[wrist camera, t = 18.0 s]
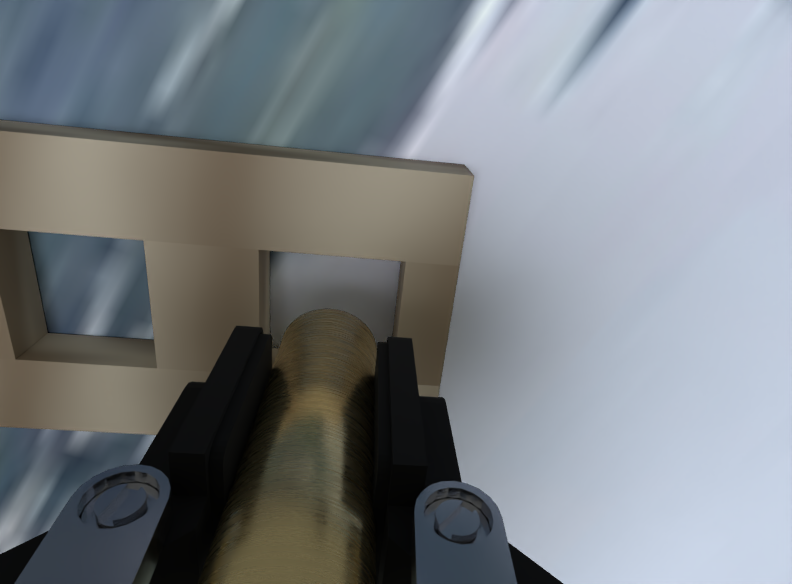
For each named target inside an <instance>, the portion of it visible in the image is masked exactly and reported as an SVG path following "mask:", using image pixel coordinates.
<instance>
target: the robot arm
mask: <svg viewBox="0 0 792 584" xmlns="http://www.w3.org/2000/svg"><path fill="white" fill-rule="evenodd" d="M271 371H272V336H271V334H264V333H263V328H262V327H250V326H236V327H235V328H234V330H233V332H232V334H231V335H230V337H229V339H228V341H227V343H226V345H225V347H224V348H223V350H222V352H221V354H220V356H219V358H218V360H217V361H216V363H215V365H214V367H213V369H212V371H211V373H210V374H209V376H208V378H207V380H206V382H193V381H191V382H189V383H188V384H187V385H186V386H185V388H184V390H183V391H182V393H181V395H180V396H179V398H178V400H177V401H176V403H175V405H174V406H173V408H172V410H171V412H170V413H169V415H168V417H167V418H166V420H165V422H164V423H163V425H162V427H161V428H160V430H159V432H158V433H157V435H156V437H155V439H154V440H153V442H152V444H151V445H150V447H149V449H148V450H147V452H146V454H145V455H144V457H143V459H142V461H141V462H140V464H137V465H125V466H120V467H116V468H113V469H109V470H107V471H104V472H102V473H100V474H98V475H96V476H94V477H92V478H91V479H90V480H88V481H87V482H85V483H84V484H83V485H81V486H80V487H79V488H78V489H77V491H76V492H75V493H74V494H73V495H72V496H71V498H70V499H69V501H68V502H67V504H66V505H65V507H64V508H63V510H62V511H61V513H60V514H59V516H58V517H57V519H56V521H55V522H54V524H53V525H52V527H51V528H50V530H49V531H47V532H45V533H43V534H41V535H39V536H37V537H35V538H33V539H31V540H29V541H27V542H25V543H23V544H20V545H18V546H16V547H14V548H12V549H10V550H8V551H6V552H4V553H2V554H0V584H198V581H199V578H200V575H201V573H202V570H203V567H204V564H205V561H206V558H207V555H208V552H209V549H210V547H211V544H212V541H213V538H214V535H215V532H216V529H217V526H218V523H219V520H220V518H221V515H222V512H223V510H224V507H225V504H226V502H227V499H228V496H229V493H230V490H231V487H232V484H233V481H234V478H235V475H236V472H237V470H238V467H239V464H240V461H241V458H242V455H243V452H244V449H245V446H246V443H247V441H248V438H249V435H250V432H251V429H252V426H253V423H254V420H255V417H256V414H257V411H258V409H259V406H260V403H261V400H262V397H263V394H264V391H265V388H266V385H267V382H268V380H269V377H270V374H271ZM373 515H374V518H375V523H376V584H563V583H562V582H560V581H559V580H558V579H556V578H555V577H554V576H552V575H551V574H550V573H548V572H547V571H546V570H544V569H543V568H542V567H540V566H539V565H538V564H536V563H535V562H534V561H532V560H531V559H530V558H528V557H527V556H526V555H524V554H523V553H522V552H520V551H519V550H518V549H516V548H515V547H514V546H512V545H511V544H510V543H508V541H507V537H506V532H505V528H504V523H503V519H502V516H501V514H500V511H499V509H498V506H497V505H496V504H495V503H494V502H493V500H492V499H491V498H490V497H489V496H488V495H487V494H485V493H484V492H483V491H481V490H480V489H478V488H476V487H474V486H471V485H469V484H467V483H462V482H461V477H460V472H459V467H458V462H457V457H456V452H455V447H454V441H453V436H452V431H451V426H450V421H449V416H448V411H447V406H446V402H445V399H444V398H443V397H428V396H419V391H418V383H417V374H416V366H415V358H414V350H413V342H412V338H403V337H389V336H388V338H387V343H385V342H378V345H377V355H376V365H375V375H374V455H373Z"/></svg>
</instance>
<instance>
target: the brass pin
mask: <svg viewBox="0 0 792 584" xmlns="http://www.w3.org/2000/svg"><path fill="white" fill-rule="evenodd" d="M376 355H377V348H376V342H375V339H374V337H373V334H372V333H371V331H370V329H369V328H368V327H367V326H366V325H365V324H364V323H363V322H362V321H361V320H360V319H358V318H357V317H355V316H354V315H352V314H350V313H347V312H344V311H341V310H336V309H318V310H314V311H310V312H308V313H305V314H303V315H301V316H300V317H298V318H297V319H295V320H294V321H293V322H292V323H291V324H290V325H289V327H288V328H287V330H286V331H285V333H284V336H283V338H282V341H281V344H280V347H279V350H278V353H277V355H276V358H275V361H274V364H273V367H272V371H271V374H270V377H269V380H268V382H267V385H266V388H265V391H264V394H263V397H262V400H261V403H260V406H259V409H258V411H257V414H256V417H255V420H254V423H253V426H252V429H251V432H250V435H249V438H248V441H247V443H246V446H245V449H244V452H243V455H242V458H241V461H240V464H239V467H238V470H237V472H236V475H235V478H234V481H233V484H232V487H231V490H230V493H229V496H228V499H227V502H226V504H225V507H224V510H223V512H222V515H221V518H220V520H219V523H218V526H217V529H216V532H215V535H214V538H213V541H212V544H211V547H210V549H209V552H208V555H207V558H206V561H205V564H204V567H203V570H202V573H201V575H200V578H199V581H198V584H376V523H375V518H374V515H373V455H374V375H375V365H376Z"/></svg>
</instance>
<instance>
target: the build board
mask: <svg viewBox="0 0 792 584" xmlns="http://www.w3.org/2000/svg"><path fill="white" fill-rule="evenodd" d="M473 180H474V175H473V174H472V173H471V172H470V171H469V170H468V168H467V167H466V166H465V165H462V164H452V163H441V162H431V161H421V160H410V159H400V158H390V157H379V156H369V155H359V154H348V153H338V152H328V151H317V150H307V149H297V148H286V147H276V146H266V145H255V144H245V143H235V142H224V141H214V140H204V139H193V138H183V137H173V136H162V135H152V134H142V133H131V132H121V131H111V130H100V129H90V128H80V127H69V126H59V125H49V124H38V123H28V122H18V121H7V120H0V427H15V428H34V429H53V430H72V431H91V432H110V433H129V434H148V435H157V433H158V432H159V430H160V428H161V427H162V425H163V423H164V422H165V420H166V418H167V417H168V415H169V413H170V412H171V410H172V408H173V406H174V405H175V403H176V401H177V400H178V398H179V396H180V395H181V393H182V391H183V390H184V388H185V386H186V385H187V384H188V383H189V382H191V381H193V382H206V380H207V378H208V376H209V374H210V373H211V371H212V369H213V367H214V365H215V363H216V361H217V360H218V358H219V356H220V354H221V352H222V350H223V348H224V347H225V345H226V343H227V341H228V339H229V337H230V335H231V334H232V332H233V330H234V328H235V327H236V326H250V327H262V328H263V333H264V334H270V251H280V252H292V253H304V254H317V255H329V256H341V257H354V258H366V259H378V260H391V261H401V264H400V273H399V282H398V291H397V300H396V309H395V318H394V327H393V336H392V337H403V338H412V342H413V350H414V358H415V366H416V374H417V383H418V391H419V396H428V397H438V395H439V389H440V383H441V376H442V370H443V364H444V358H445V352H446V346H447V340H448V333H449V327H450V321H451V315H452V309H453V303H454V297H455V290H456V284H457V278H458V272H459V266H460V260H461V254H462V247H463V241H464V235H465V229H466V223H467V217H468V211H469V204H470V198H471V192H472V186H473ZM27 231H33V232H45V233H58V234H70V235H82V236H95V237H107V238H119V239H132V240H144V249H145V259H146V268H147V277H148V287H149V296H150V306H151V315H152V324H153V334H154V340H145V339H130V338H115V337H100V336H85V335H70V334H55V333H48V331H47V326H46V321H45V316H44V312H43V307H42V302H41V297H40V292H39V287H38V282H37V277H36V272H35V267H34V262H33V257H32V252H31V247H30V243H29V238H28V233H27ZM278 350H279V348H272V367H273V364H274V361H275V358H276V355H277V353H278Z"/></svg>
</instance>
